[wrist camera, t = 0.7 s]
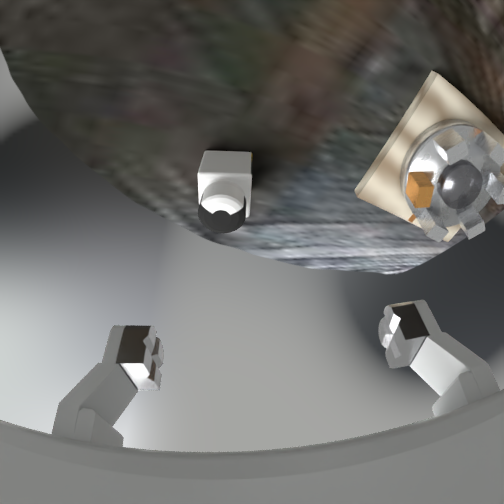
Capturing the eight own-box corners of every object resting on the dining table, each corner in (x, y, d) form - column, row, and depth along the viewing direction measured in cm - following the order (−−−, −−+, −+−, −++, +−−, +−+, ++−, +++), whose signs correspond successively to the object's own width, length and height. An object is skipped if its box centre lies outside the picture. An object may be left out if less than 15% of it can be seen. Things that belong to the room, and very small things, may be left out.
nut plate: (431, 70, 34) (438, 74, 33) (512, 147, 40) (519, 152, 39) (354, 190, 50) (357, 197, 48) (444, 235, 56) (448, 242, 54)
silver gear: (442, 96, 35) (467, 113, 30) (506, 156, 40) (528, 177, 35) (377, 191, 47) (391, 218, 42) (448, 230, 52) (463, 255, 47)
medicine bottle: (250, 191, 50) (248, 241, 42) (205, 189, 50) (194, 238, 42) (252, 151, 45) (251, 195, 37) (204, 149, 45) (190, 193, 37)
